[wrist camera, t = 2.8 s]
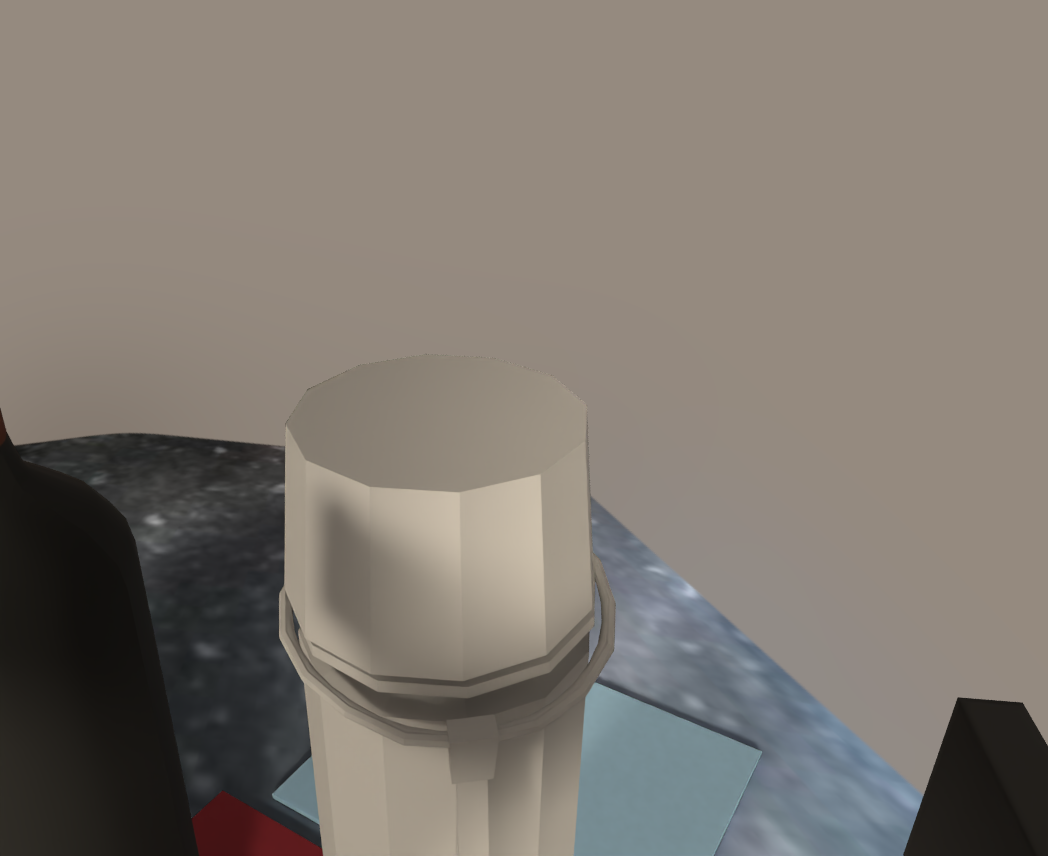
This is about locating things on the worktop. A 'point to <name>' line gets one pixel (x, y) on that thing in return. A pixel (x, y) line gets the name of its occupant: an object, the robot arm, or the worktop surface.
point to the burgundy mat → (245, 832)
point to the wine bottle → (80, 680)
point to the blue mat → (631, 781)
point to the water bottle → (443, 605)
